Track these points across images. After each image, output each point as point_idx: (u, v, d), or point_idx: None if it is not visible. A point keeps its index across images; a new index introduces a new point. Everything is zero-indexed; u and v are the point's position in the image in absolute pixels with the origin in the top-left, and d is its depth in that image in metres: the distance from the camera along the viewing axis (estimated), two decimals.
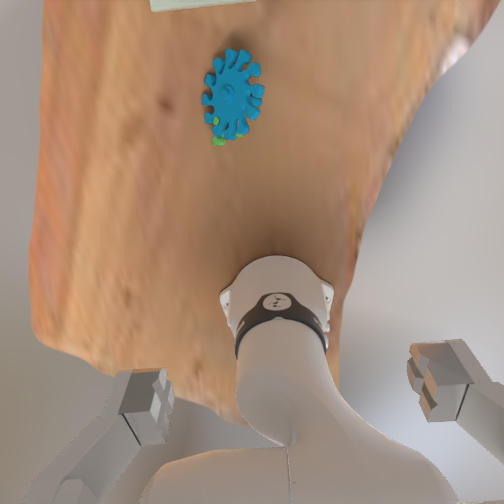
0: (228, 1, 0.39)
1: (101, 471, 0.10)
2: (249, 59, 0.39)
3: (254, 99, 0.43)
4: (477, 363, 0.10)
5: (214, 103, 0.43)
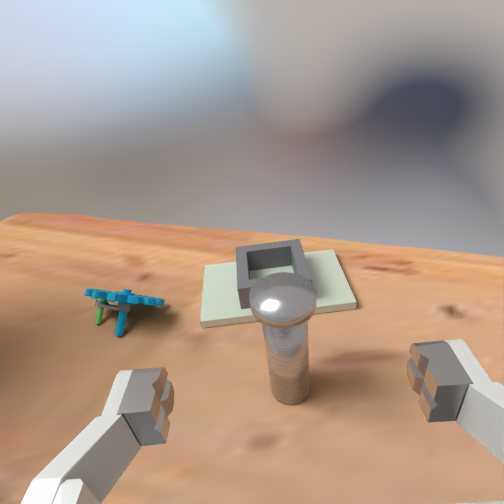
0: (202, 304, 0.47)
1: (101, 471, 0.10)
2: (146, 302, 0.43)
3: (120, 325, 0.45)
4: (477, 363, 0.10)
5: None
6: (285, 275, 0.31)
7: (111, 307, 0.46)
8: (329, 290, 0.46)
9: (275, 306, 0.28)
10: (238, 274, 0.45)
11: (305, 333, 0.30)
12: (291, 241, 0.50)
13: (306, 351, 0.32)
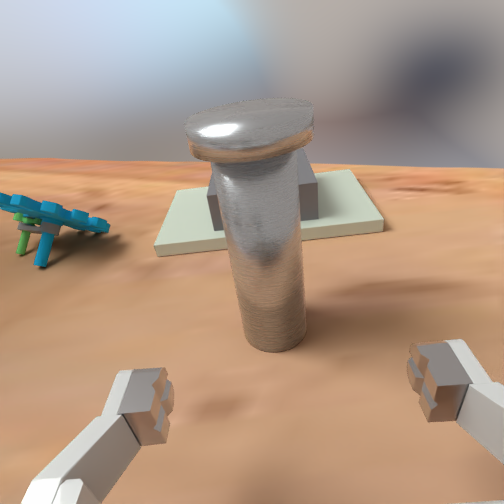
0: (162, 228, 0.33)
1: (101, 471, 0.10)
2: (71, 215, 0.30)
3: (41, 251, 0.32)
4: (477, 363, 0.10)
5: None
6: (259, 101, 0.17)
7: (33, 228, 0.33)
8: (343, 208, 0.32)
9: (229, 123, 0.14)
10: (212, 182, 0.32)
11: (293, 202, 0.16)
12: None
13: (297, 245, 0.18)
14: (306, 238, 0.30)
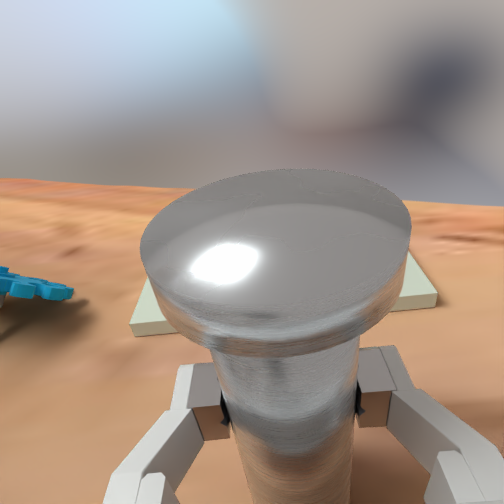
0: (142, 293, 0.26)
1: (173, 466, 0.09)
2: (10, 291, 0.22)
3: None
4: (404, 370, 0.10)
5: (16, 275, 0.28)
6: (287, 175, 0.09)
7: None
8: None
9: (233, 258, 0.06)
10: None
11: (353, 371, 0.09)
12: None
13: (351, 424, 0.10)
14: None
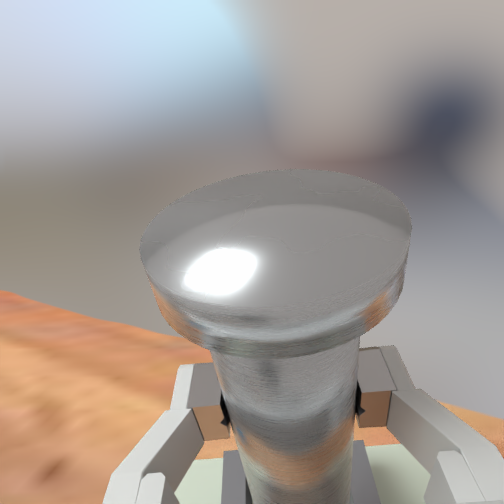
0: None
1: (173, 465, 0.09)
2: None
3: None
4: (404, 370, 0.10)
5: None
6: (286, 175, 0.09)
7: None
8: None
9: (233, 259, 0.06)
10: None
11: (353, 372, 0.09)
12: None
13: (351, 425, 0.10)
14: None
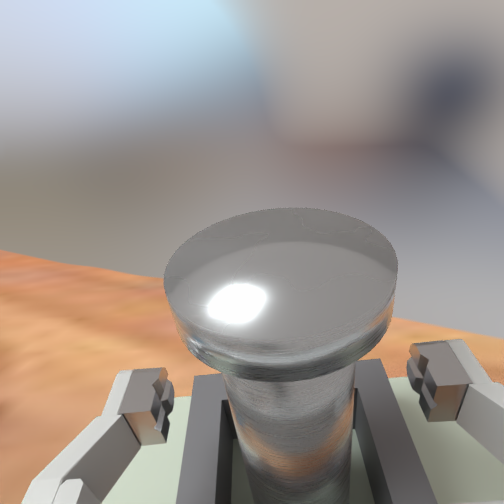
0: None
1: (101, 471, 0.10)
2: None
3: None
4: (477, 363, 0.10)
5: None
6: (290, 214, 0.11)
7: None
8: None
9: (245, 295, 0.07)
10: None
11: (349, 391, 0.10)
12: (357, 367, 0.17)
13: (348, 440, 0.11)
14: None
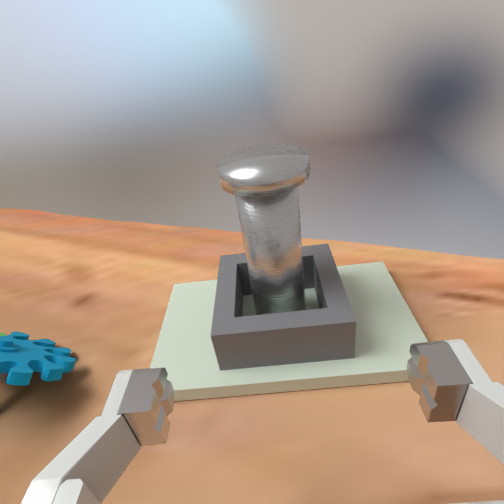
0: (154, 357, 0.26)
1: (101, 471, 0.10)
2: None
3: None
4: (477, 363, 0.10)
5: (23, 341, 0.28)
6: (270, 146, 0.23)
7: None
8: (385, 338, 0.25)
9: (250, 168, 0.20)
10: (217, 305, 0.25)
11: (295, 221, 0.22)
12: (314, 247, 0.30)
13: (298, 253, 0.23)
14: (339, 385, 0.23)
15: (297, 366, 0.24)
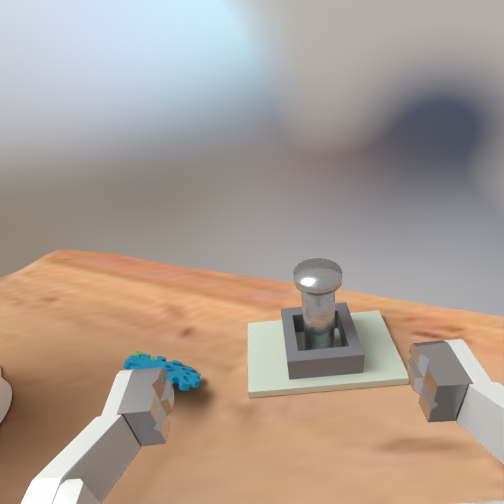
0: (248, 371, 0.46)
1: (101, 471, 0.10)
2: (179, 387, 0.41)
3: None
4: (477, 363, 0.10)
5: (168, 363, 0.48)
6: (319, 260, 0.43)
7: None
8: (380, 361, 0.45)
9: (313, 280, 0.40)
10: (286, 343, 0.45)
11: (333, 302, 0.42)
12: (338, 305, 0.50)
13: (333, 316, 0.43)
14: (355, 388, 0.43)
15: (332, 377, 0.44)
